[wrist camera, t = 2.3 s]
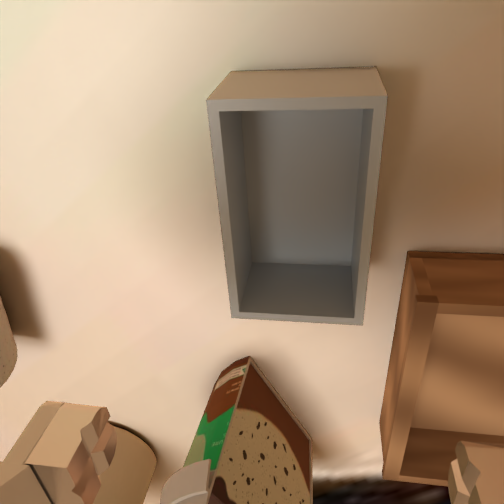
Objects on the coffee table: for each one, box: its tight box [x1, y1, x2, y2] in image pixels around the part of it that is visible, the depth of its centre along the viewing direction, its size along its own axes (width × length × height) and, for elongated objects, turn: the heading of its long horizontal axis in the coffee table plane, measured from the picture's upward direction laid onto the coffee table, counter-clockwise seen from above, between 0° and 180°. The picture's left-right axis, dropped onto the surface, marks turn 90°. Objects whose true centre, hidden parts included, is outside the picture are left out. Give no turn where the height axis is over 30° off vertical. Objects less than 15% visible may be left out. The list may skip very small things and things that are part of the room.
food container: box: [160, 356, 313, 504], centre depth 27 cm, size 12×6×10 cm, turn 30°
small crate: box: [206, 67, 388, 325], centre depth 19 cm, size 10×6×4 cm, turn 3°
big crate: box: [379, 251, 504, 486], centre depth 24 cm, size 14×12×4 cm
